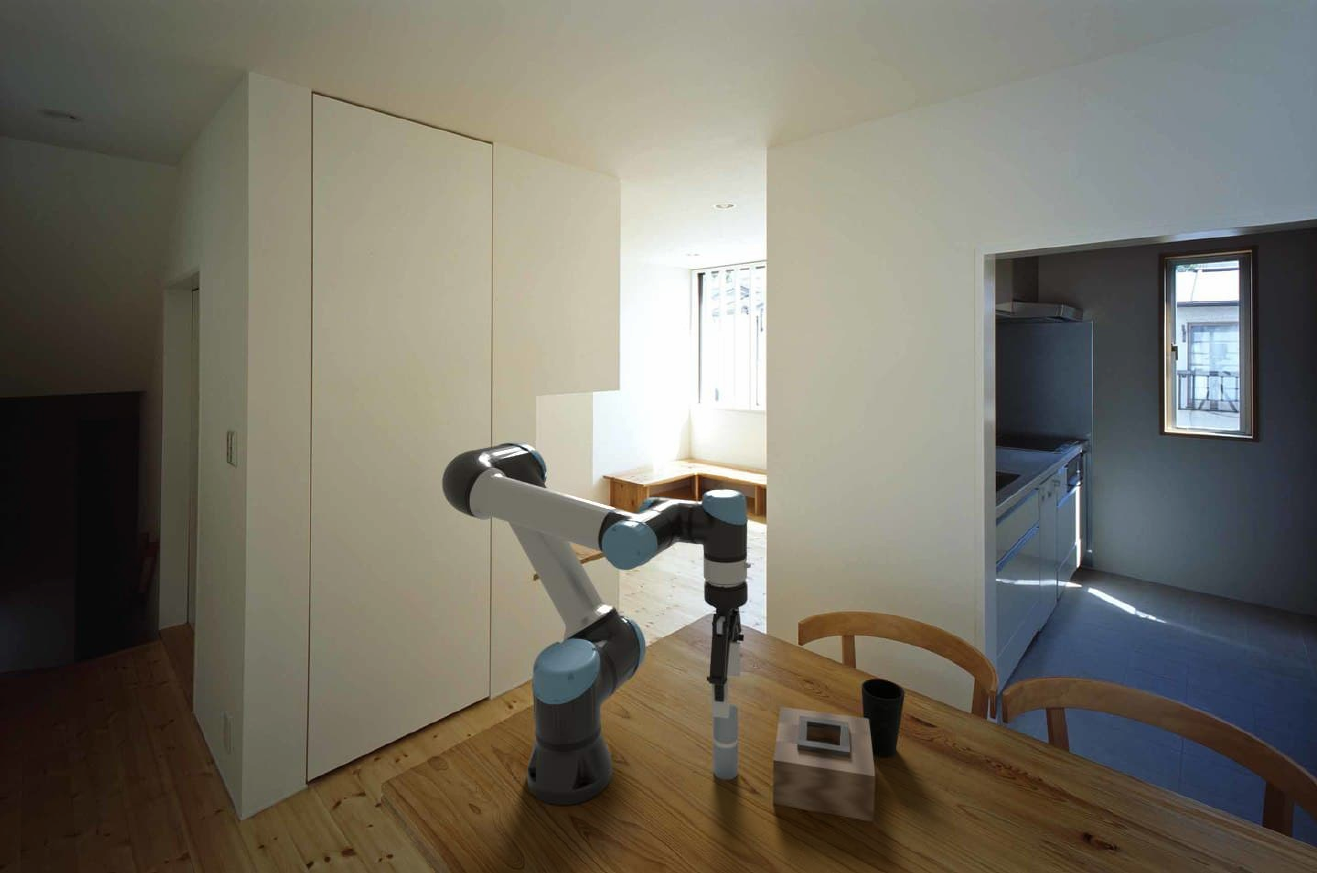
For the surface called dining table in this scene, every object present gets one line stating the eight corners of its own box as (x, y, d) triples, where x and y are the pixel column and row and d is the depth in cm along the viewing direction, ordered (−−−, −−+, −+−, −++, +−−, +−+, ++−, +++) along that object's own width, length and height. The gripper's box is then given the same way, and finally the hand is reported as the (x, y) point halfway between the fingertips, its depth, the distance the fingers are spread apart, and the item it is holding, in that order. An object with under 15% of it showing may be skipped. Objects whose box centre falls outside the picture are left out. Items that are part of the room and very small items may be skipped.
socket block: (773, 804, 102) (773, 754, 101) (780, 745, 117) (780, 701, 116) (873, 822, 98) (875, 770, 97) (867, 758, 113) (868, 713, 112)
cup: (905, 763, 112) (908, 702, 110) (861, 758, 113) (864, 698, 112) (897, 738, 119) (900, 680, 118) (857, 733, 121) (859, 676, 119)
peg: (711, 777, 109) (710, 715, 107) (715, 761, 113) (715, 701, 112) (736, 782, 108) (736, 719, 106) (739, 765, 112) (739, 704, 110)
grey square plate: (809, 759, 105) (809, 755, 105) (810, 743, 110) (810, 739, 110) (837, 763, 104) (837, 759, 104) (836, 747, 109) (836, 743, 108)
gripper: (736, 610, 93) (738, 739, 95) (755, 558, 116) (756, 662, 119) (688, 606, 95) (691, 733, 97) (716, 555, 118) (718, 658, 121)
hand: (727, 694), depth 108 cm, fingers open, 13 cm apart
